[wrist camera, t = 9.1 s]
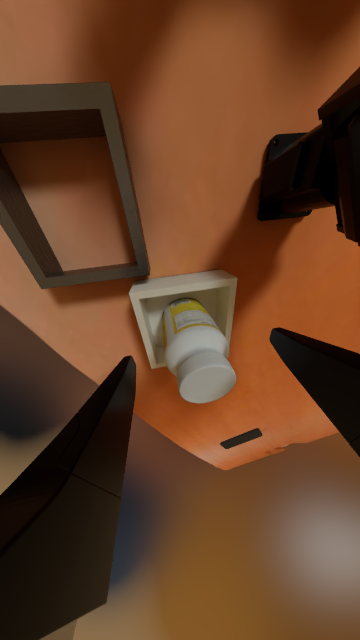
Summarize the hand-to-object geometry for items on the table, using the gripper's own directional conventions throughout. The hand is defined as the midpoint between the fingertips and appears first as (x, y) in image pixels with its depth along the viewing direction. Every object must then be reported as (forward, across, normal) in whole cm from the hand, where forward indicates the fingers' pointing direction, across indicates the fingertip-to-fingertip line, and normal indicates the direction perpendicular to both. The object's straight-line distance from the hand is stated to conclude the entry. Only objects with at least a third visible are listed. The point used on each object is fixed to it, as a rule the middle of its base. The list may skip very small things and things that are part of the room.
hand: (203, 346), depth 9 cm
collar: (+12, +9, -9) cm, 17 cm away
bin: (+12, 0, +4) cm, 13 cm away
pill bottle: (+12, 0, +4) cm, 12 cm away
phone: (+13, -15, +61) cm, 64 cm away
